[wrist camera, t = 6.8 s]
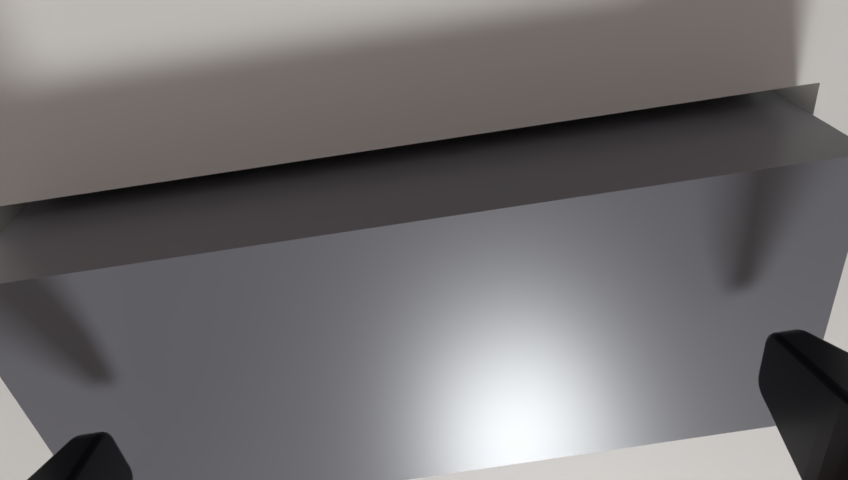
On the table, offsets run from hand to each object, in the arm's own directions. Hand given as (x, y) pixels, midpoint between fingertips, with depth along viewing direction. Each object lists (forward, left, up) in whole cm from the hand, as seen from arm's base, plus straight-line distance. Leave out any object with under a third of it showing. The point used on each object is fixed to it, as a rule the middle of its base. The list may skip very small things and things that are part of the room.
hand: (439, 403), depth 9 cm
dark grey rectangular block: (0, 0, -5) cm, 5 cm away
